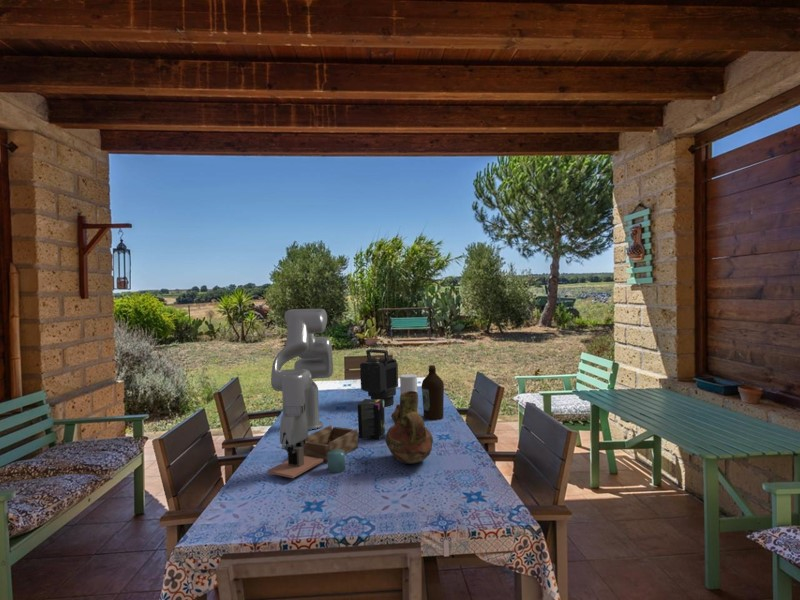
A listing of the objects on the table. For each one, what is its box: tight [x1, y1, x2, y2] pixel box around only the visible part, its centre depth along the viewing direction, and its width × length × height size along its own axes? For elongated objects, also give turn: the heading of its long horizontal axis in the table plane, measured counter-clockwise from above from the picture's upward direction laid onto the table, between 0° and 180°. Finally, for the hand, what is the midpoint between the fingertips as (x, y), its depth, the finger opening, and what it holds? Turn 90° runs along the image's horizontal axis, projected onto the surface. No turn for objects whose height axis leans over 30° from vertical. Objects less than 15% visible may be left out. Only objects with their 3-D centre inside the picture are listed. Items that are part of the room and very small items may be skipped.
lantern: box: [359, 348, 399, 408], centre depth 249 cm, size 15×18×30 cm
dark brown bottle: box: [421, 364, 445, 421], centre depth 222 cm, size 11×11×25 cm
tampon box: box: [357, 398, 386, 441], centre depth 197 cm, size 11×9×15 cm
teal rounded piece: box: [327, 449, 346, 474], centre depth 161 cm, size 6×6×6 cm
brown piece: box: [266, 445, 324, 479], centre depth 160 cm, size 16×11×7 cm
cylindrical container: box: [399, 373, 419, 412], centre depth 197 cm, size 7×7×25 cm
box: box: [304, 424, 359, 464], centre depth 178 cm, size 18×13×7 cm
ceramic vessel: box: [385, 391, 434, 464], centre depth 167 cm, size 17×26×25 cm, turn 23°
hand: (295, 461), depth 160 cm, fingers closed on brown piece
